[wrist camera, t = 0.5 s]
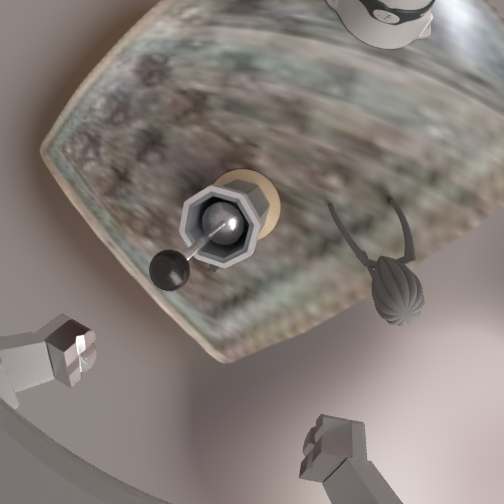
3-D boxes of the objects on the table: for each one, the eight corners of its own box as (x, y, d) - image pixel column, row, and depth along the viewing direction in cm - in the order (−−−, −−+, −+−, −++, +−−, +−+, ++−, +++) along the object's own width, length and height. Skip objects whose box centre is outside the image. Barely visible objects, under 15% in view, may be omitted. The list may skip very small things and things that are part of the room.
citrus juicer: (365, 257, 52) (399, 372, 24) (315, 234, 53) (306, 336, 25) (394, 200, 47) (470, 271, 20) (342, 174, 48) (372, 217, 21)
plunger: (208, 196, 42) (134, 237, 25) (249, 208, 41) (196, 259, 24) (200, 236, 44) (130, 295, 27) (239, 248, 44) (186, 318, 27)
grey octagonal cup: (217, 161, 52) (182, 168, 39) (289, 180, 50) (278, 195, 37) (201, 233, 57) (166, 262, 44) (268, 254, 56) (250, 291, 42)
